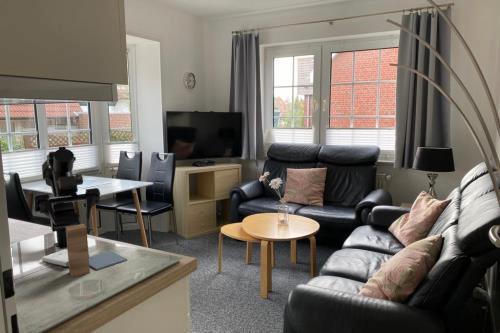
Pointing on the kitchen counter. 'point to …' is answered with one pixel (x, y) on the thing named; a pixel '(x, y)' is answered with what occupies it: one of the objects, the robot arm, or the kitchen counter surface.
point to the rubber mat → (105, 260)
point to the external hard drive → (57, 258)
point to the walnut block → (77, 250)
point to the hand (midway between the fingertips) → (72, 221)
